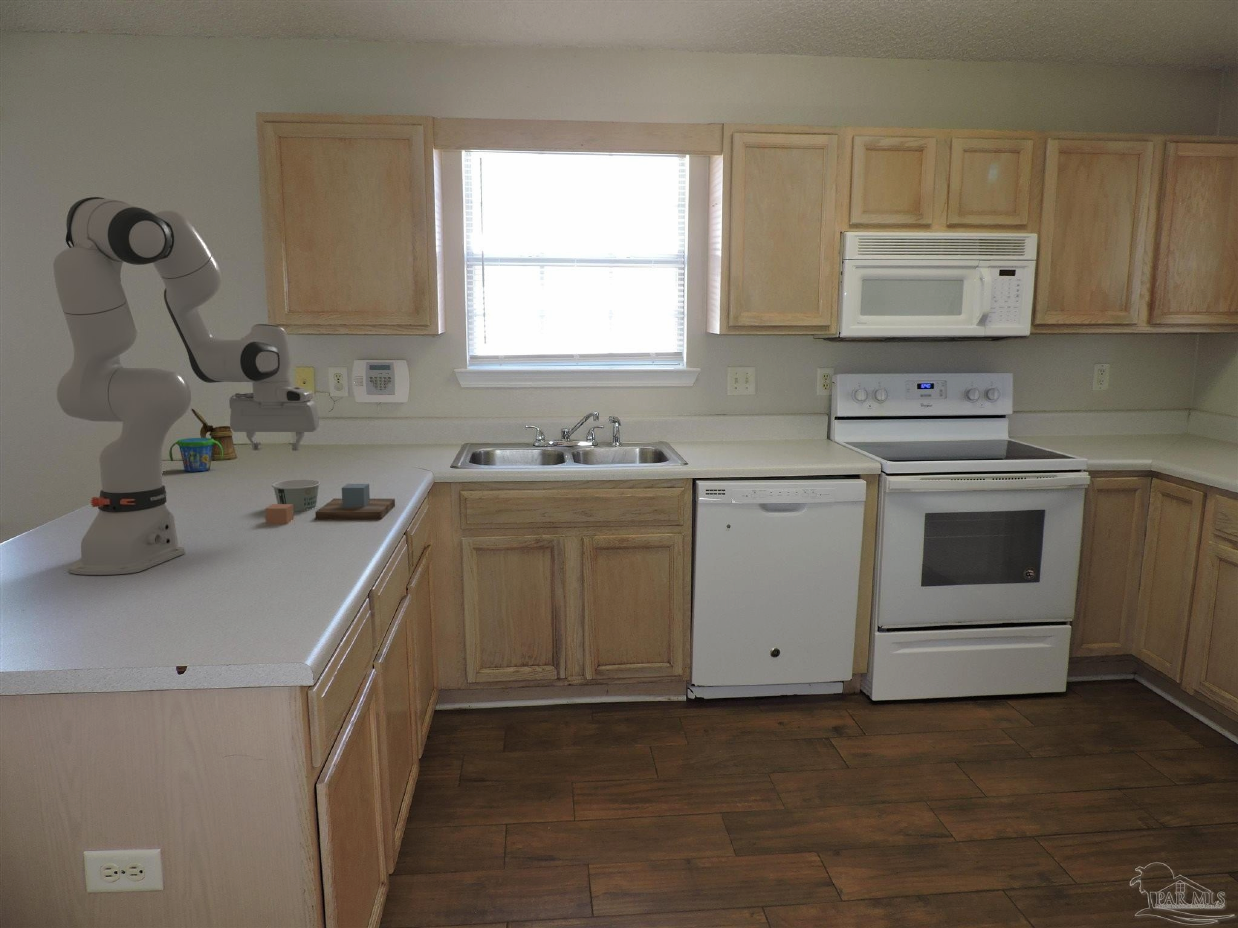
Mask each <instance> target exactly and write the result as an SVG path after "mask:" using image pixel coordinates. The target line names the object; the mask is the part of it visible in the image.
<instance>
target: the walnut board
mask: <svg viewBox="0 0 1238 928" xmlns="http://www.w3.org/2000/svg"><path fill="white" fill-rule="evenodd" d="M395 507H396V499H395V498H370V503H369V504H368V505H367V506H365V507H342V498H333V499H332V500H330V501H328V502H327V503H326V504H324V505H323V506H320V508H318V509H317V510H316V511H315V513H314V515H315V520H316V519H318V520H317V521H320V520H323V521H326V520H329V519H330V520H332V521H333V520H334V521H335V520H336V519H346V520H347V521H350V520H351V521H355V520H358V521H359V520H361V521H363V520H366V521H367V520H369V521H370V520H371V521H372V520H373V521H374V520H376V521H377V520H379V521H381V520H382V519H384V517H386V516H387V515H388V513H390V512H391V511H392V509H394V508H395ZM346 520H345V521H346ZM336 521H337V520H336Z"/></svg>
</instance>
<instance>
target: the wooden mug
mask: <svg viewBox="0 0 1238 928" xmlns="http://www.w3.org/2000/svg"><path fill="white" fill-rule="evenodd" d="M191 413H193V415H194V416H195V418H197V420H199V422H200V423H201V424H202V426H201V428H200V431H199V434H200V438H207V433H209V437H210V438H212V439H213V440H214V441H217V442H218V443H219V444H220V445H221V446H222V449H223V457H222V460H221V459H220V458H221V449H220V447H219V446H218V445H217V444H216V443H214V444H213V449H212V455H211V461H231V460H235V459H238V455H237V453H236V450H235V445H234V439H233V434H234V433H233V430H232V429H231V428H230V425H222V426H221V425H220V426H215V427H214V425H212V424H208V422H207V421H206V419H205V418H204V417H203V416H202V415H201V414H200V413H199V412H198V411H196V409H194V408H191Z"/></svg>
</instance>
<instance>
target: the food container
mask: <svg viewBox="0 0 1238 928" xmlns="http://www.w3.org/2000/svg"><path fill="white" fill-rule="evenodd" d="M320 485H321V482H320V481H319V480H315V479H305V478H304V479H289V480H288V479H287V480H281V481H277V482H274V483H272V484H271V487H272V488H273V490H274V495H275V499H276V504H293V511H295V512H304V511H303V510H306V511H308V510H307V509H311V510H313V509H312V508H314V509H316V508H317V502H318V494H319V486H320ZM315 507H316V508H315Z"/></svg>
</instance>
